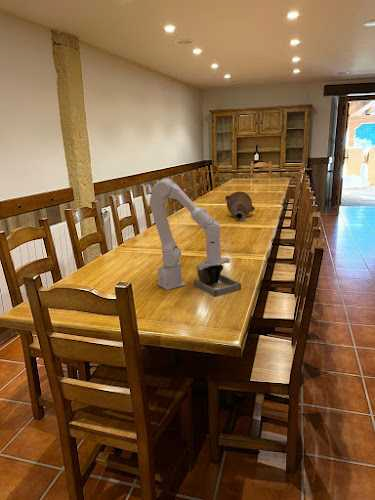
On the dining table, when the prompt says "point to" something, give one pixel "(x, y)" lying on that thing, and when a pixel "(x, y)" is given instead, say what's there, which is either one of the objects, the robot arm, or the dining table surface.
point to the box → (203, 276)
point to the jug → (239, 205)
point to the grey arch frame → (216, 292)
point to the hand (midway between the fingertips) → (214, 282)
